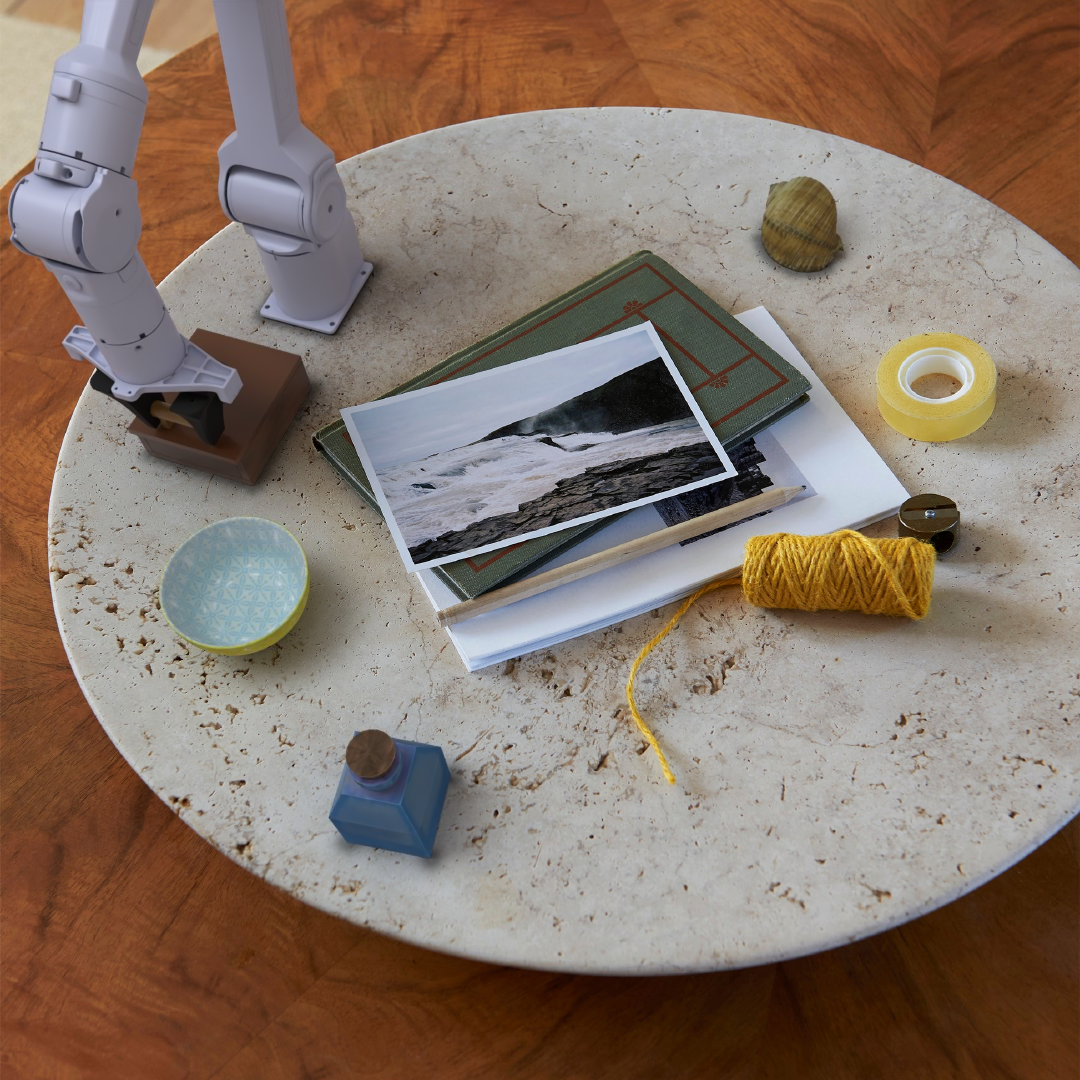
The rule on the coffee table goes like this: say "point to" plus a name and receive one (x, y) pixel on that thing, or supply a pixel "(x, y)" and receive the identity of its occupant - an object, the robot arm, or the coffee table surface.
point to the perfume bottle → (391, 793)
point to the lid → (242, 418)
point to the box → (260, 445)
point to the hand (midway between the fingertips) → (187, 427)
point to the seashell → (801, 224)
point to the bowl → (235, 585)
